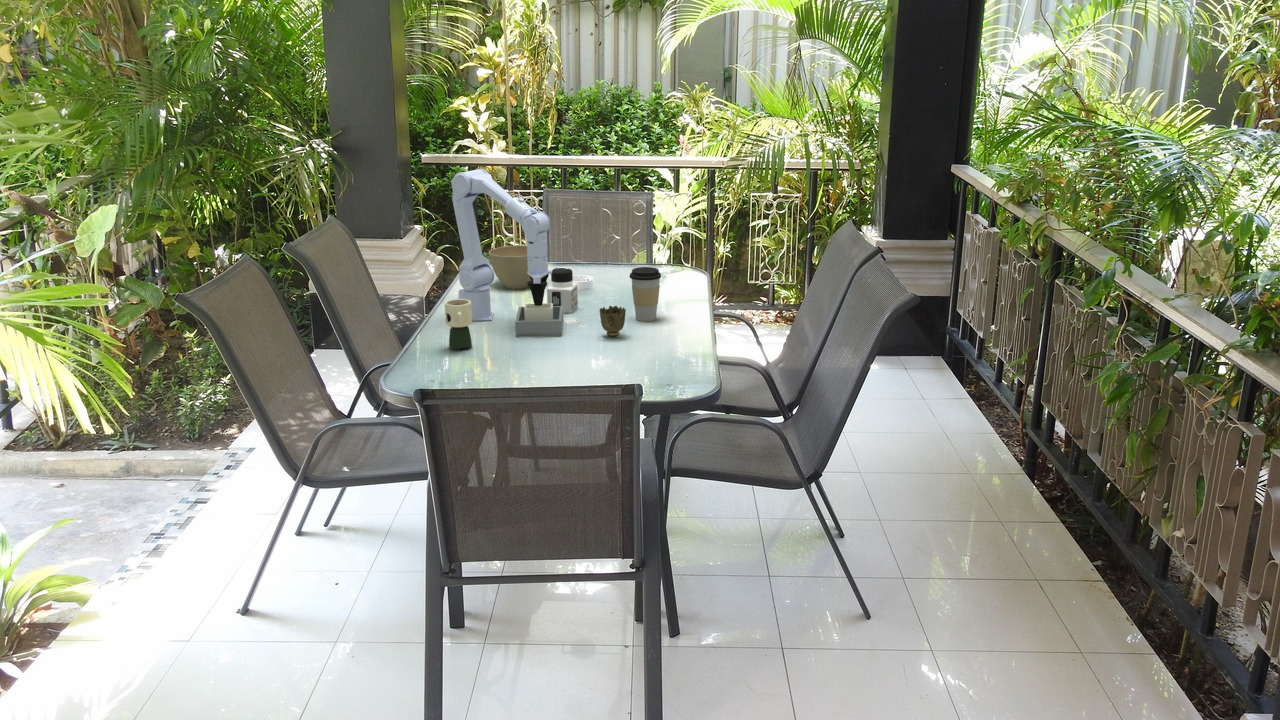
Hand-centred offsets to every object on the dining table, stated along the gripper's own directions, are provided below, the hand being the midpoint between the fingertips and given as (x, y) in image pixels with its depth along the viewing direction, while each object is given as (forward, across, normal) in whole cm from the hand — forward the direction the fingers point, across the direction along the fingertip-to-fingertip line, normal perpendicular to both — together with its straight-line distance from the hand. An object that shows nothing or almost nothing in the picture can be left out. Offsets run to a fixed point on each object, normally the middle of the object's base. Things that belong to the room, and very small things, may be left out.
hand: (539, 301), depth 308 cm
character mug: (+8, -17, +21) cm, 28 cm away
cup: (+8, -9, -21) cm, 24 cm away
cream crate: (+7, 0, 0) cm, 7 cm away
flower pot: (+8, +51, +10) cm, 53 cm away
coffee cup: (+8, +8, -31) cm, 33 cm away
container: (+8, +20, -6) cm, 22 cm away
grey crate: (+8, 0, 0) cm, 8 cm away
